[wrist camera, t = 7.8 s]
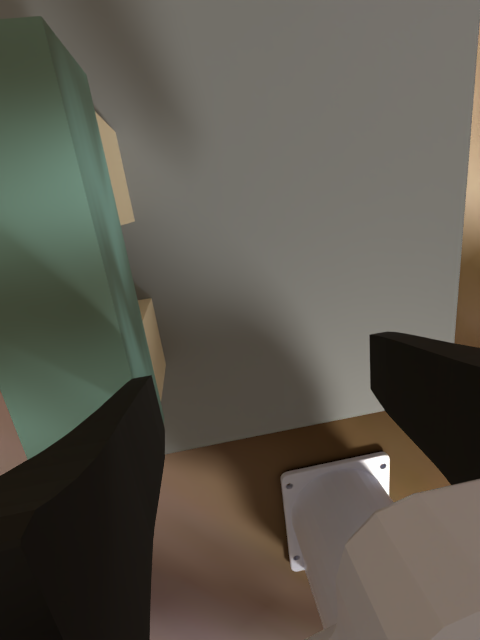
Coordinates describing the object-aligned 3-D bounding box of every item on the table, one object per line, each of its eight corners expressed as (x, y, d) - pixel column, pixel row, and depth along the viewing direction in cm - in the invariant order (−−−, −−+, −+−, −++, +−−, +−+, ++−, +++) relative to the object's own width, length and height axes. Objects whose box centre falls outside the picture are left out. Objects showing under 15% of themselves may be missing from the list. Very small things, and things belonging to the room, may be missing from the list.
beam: (164, 418, 17) (157, 480, 13) (77, 434, 16) (44, 503, 13) (86, 74, 12) (41, 15, 8) (-37, 86, 12) (-141, 30, 8)
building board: (439, 390, 25) (499, 433, 20) (58, 465, 22) (24, 534, 18) (469, -45, 17) (578, -142, 12) (-112, -3, 14) (-256, -103, 10)
